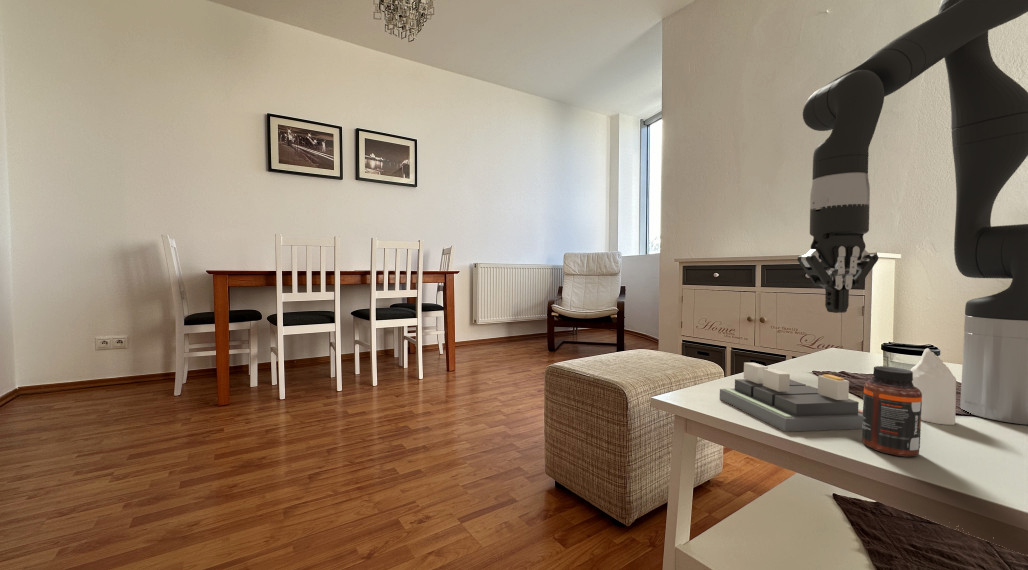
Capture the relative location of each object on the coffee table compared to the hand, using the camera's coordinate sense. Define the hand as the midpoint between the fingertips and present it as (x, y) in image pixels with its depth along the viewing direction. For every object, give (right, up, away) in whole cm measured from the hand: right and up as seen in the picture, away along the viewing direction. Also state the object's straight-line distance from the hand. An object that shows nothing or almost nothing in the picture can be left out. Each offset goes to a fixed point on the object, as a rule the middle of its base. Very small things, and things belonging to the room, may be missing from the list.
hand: (836, 312), depth 66 cm
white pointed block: (+18, -19, +3) cm, 26 cm away
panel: (-4, -18, +5) cm, 19 cm away
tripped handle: (0, -14, 0) cm, 14 cm away
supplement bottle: (0, -19, -10) cm, 21 cm away
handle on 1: (-8, -14, +9) cm, 18 cm away
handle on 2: (-7, -14, +4) cm, 16 cm away
